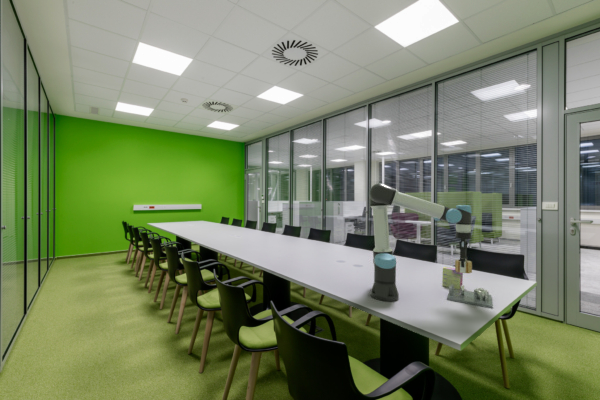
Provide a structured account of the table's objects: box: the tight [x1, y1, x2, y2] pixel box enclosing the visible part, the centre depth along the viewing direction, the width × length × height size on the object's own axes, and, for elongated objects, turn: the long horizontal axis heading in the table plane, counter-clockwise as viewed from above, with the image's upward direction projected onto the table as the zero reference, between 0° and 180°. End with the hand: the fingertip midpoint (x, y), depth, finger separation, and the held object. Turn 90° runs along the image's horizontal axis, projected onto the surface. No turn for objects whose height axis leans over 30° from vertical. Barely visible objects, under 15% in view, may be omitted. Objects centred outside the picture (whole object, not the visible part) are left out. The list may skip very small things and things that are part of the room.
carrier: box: [446, 284, 493, 309], centre depth 155 cm, size 21×21×6 cm
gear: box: [454, 259, 473, 274], centre depth 158 cm, size 8×8×6 cm
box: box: [441, 266, 464, 290], centre depth 175 cm, size 10×6×12 cm, turn 47°
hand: (463, 271), depth 158 cm, fingers closed on gear, 8 cm apart
